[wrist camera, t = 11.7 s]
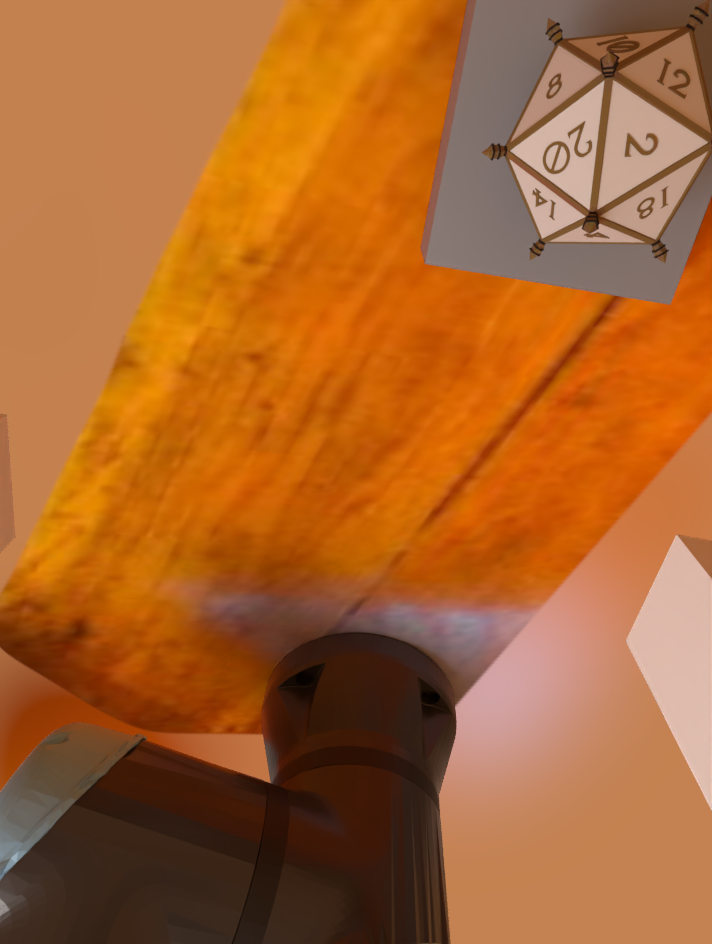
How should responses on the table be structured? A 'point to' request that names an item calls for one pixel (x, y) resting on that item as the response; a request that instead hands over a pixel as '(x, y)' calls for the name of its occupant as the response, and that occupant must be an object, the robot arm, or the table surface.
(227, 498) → the table surface
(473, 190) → the gray block
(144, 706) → the table surface
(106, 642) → the table surface
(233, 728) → the table surface
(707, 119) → the game die
